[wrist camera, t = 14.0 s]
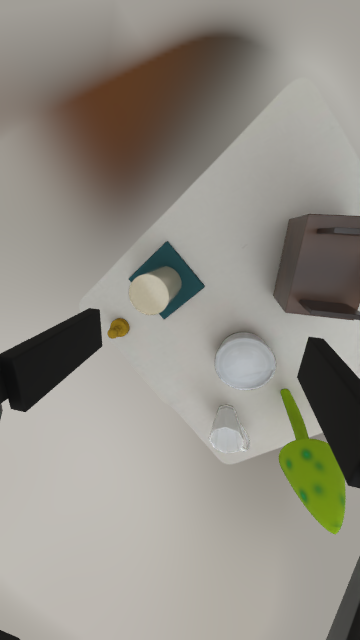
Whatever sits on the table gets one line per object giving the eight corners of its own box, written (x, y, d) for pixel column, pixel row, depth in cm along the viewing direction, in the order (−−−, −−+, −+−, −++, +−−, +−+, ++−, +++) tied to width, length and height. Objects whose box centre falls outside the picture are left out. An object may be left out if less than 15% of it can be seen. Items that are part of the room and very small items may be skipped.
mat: (129, 278, 47) (128, 279, 46) (167, 241, 42) (166, 241, 42) (164, 318, 48) (164, 319, 48) (204, 286, 44) (204, 286, 43)
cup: (225, 394, 51) (225, 421, 44) (258, 421, 52) (263, 452, 45) (205, 411, 54) (201, 438, 47) (236, 436, 55) (238, 467, 47)
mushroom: (295, 369, 46) (360, 502, 23) (314, 400, 48) (392, 554, 25) (257, 384, 49) (280, 515, 26) (275, 413, 50) (313, 561, 28)
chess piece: (121, 337, 52) (110, 347, 47) (109, 324, 51) (97, 333, 47) (132, 328, 50) (123, 337, 46) (121, 314, 50) (110, 322, 45)
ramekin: (245, 384, 50) (247, 400, 45) (205, 354, 49) (202, 367, 44) (284, 350, 45) (290, 364, 40) (240, 316, 45) (241, 326, 40)
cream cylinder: (149, 264, 44) (128, 272, 35) (182, 267, 43) (169, 276, 34) (149, 297, 47) (129, 312, 37) (180, 301, 45) (167, 317, 36)
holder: (289, 219, 37) (323, 209, 24) (349, 222, 36) (424, 213, 22) (273, 295, 42) (293, 325, 28) (325, 301, 40) (375, 335, 27)
